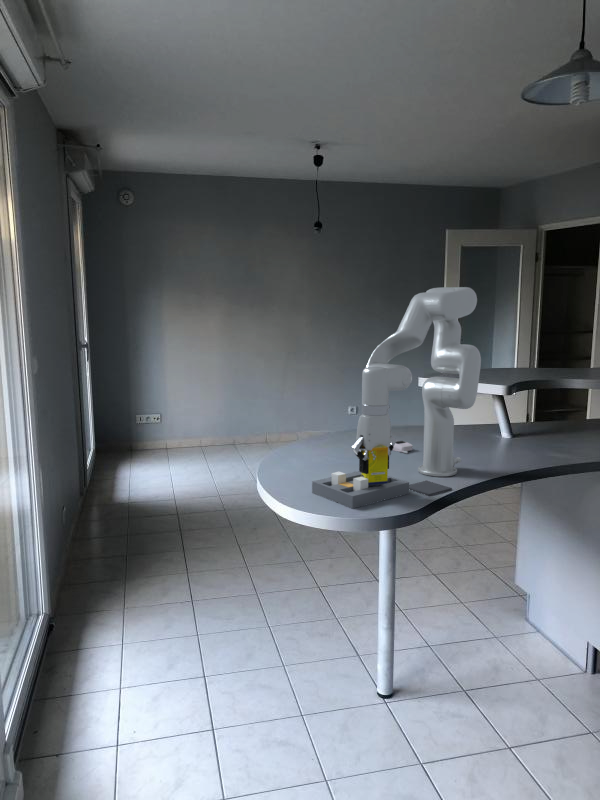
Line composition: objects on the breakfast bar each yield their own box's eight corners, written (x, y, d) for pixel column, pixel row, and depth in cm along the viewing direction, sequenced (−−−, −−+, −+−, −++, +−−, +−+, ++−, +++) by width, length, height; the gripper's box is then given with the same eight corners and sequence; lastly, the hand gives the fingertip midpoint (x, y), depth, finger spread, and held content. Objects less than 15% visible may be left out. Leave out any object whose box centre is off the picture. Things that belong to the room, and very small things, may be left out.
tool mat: (426, 482, 196) (426, 480, 196) (451, 489, 188) (451, 487, 188) (403, 488, 190) (403, 486, 190) (428, 496, 182) (428, 494, 182)
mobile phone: (376, 426, 255) (417, 437, 234) (376, 440, 256) (417, 452, 235) (364, 428, 252) (405, 439, 231) (364, 442, 253) (405, 455, 232)
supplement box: (361, 479, 184) (361, 443, 182) (380, 478, 185) (380, 442, 184) (368, 485, 178) (368, 447, 177) (387, 483, 180) (388, 446, 178)
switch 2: (361, 489, 181) (361, 476, 181) (368, 491, 179) (368, 478, 178) (353, 490, 179) (353, 478, 179) (360, 493, 177) (360, 480, 177)
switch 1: (339, 483, 187) (339, 471, 186) (345, 485, 184) (345, 473, 184) (331, 485, 185) (331, 473, 184) (338, 487, 183) (338, 475, 182)
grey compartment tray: (367, 480, 198) (367, 469, 198) (408, 493, 184) (409, 481, 184) (312, 492, 185) (312, 481, 185) (352, 508, 171) (352, 495, 171)
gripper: (387, 405, 187) (386, 463, 190) (343, 411, 176) (342, 472, 179) (406, 408, 181) (404, 468, 184) (361, 415, 171) (360, 478, 173)
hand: (374, 470), depth 181 cm, fingers closed on supplement box, 7 cm apart
